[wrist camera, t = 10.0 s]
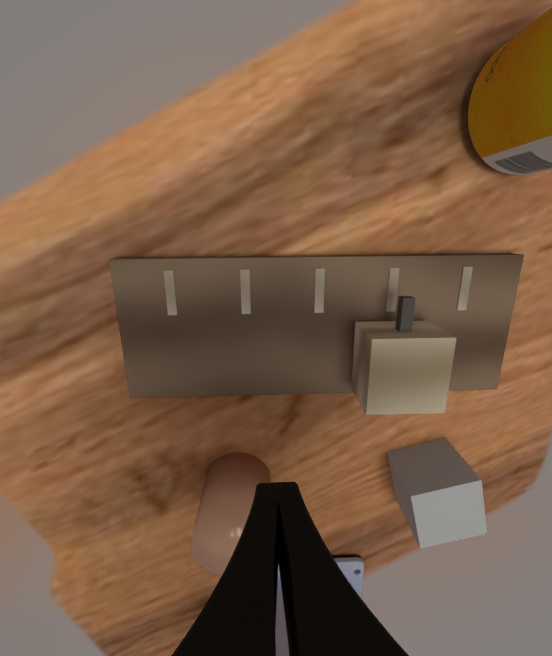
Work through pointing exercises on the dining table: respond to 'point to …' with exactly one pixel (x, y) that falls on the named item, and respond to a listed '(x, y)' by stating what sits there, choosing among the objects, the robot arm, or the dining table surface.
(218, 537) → the terracotta cylinder
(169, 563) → the dining table surface
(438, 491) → the grey cube
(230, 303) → the board
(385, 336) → the birch slider
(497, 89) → the beer can
